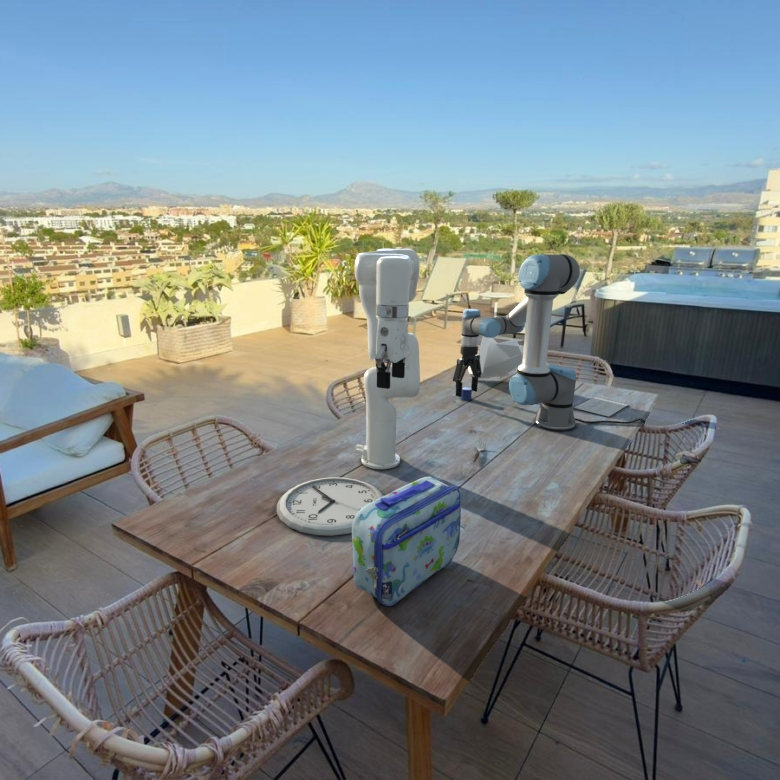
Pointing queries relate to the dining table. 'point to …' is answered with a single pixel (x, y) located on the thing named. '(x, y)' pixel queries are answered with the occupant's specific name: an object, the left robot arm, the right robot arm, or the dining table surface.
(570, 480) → the dining table surface
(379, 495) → the wall clock
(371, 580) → the lunch box
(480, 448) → the fork
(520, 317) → the right robot arm
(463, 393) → the can
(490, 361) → the white plastic object
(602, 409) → the invitation card
